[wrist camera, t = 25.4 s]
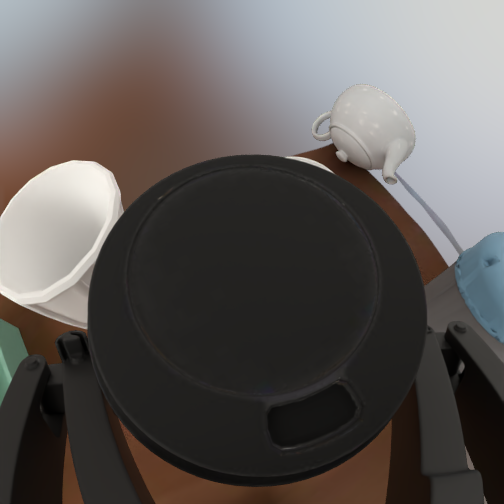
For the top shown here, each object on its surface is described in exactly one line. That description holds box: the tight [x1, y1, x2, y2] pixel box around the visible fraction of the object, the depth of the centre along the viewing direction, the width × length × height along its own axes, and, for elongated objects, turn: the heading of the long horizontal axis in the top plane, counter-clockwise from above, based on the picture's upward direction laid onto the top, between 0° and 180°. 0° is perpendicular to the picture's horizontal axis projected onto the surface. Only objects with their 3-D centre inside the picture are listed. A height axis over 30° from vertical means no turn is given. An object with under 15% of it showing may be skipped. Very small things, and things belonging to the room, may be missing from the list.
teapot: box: [312, 84, 415, 184], centre depth 45 cm, size 19×18×14 cm
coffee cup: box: [87, 155, 427, 487], centre depth 12 cm, size 9×9×15 cm
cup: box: [0, 160, 124, 329], centre depth 23 cm, size 12×12×22 cm
